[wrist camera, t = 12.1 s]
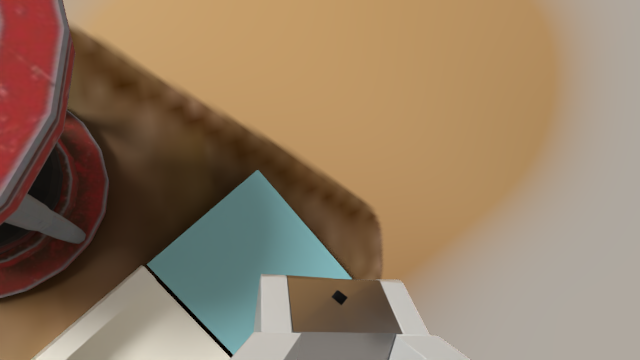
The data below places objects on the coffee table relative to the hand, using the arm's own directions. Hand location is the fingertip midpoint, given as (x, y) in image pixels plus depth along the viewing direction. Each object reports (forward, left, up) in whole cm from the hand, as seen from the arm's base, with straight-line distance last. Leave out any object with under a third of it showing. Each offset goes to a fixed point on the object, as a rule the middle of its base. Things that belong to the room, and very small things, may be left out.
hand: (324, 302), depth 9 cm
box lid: (-1, -6, -27) cm, 28 cm away
